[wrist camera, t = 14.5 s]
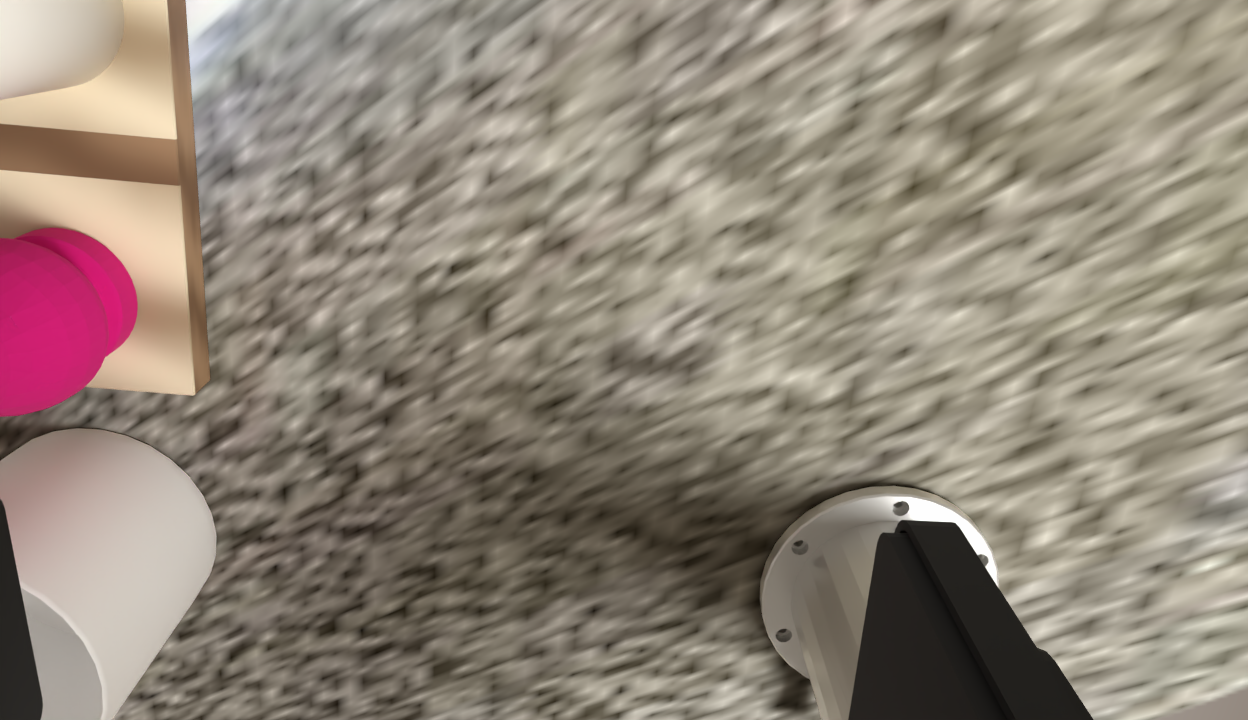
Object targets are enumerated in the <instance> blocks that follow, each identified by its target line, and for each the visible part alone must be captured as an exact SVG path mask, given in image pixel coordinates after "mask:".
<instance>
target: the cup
mask: <svg viewBox="0 0 1248 720" xmlns="http://www.w3.org/2000/svg"><path fill="white" fill-rule="evenodd" d="M0 499H1V500H2V502H3V505H4V508H5V511H6V516H7V521H8V526H9V532H10V537H11V542H12V547H13V552H14V557H15V562H16V567H17V572H18V577H19V582H20V587H21V592H22V597H23V602H24V607H25V612H26V618H27V623H28V628H29V633H30V638H31V643H32V648H33V653H34V658H35V663H36V668H37V673H38V678H39V683H40V688H41V693H42V699H43V710H42V716H41V720H112V719H113V718H114V716H115V715H116V713H117V712H118V711H119V709H120V708H121V706H122V705H123V703H124V702H125V700H126V699H127V697H128V696H129V695H130V693H131V692H132V690H133V689H134V687H135V686H136V684H137V683H138V681H139V680H140V679H141V677H142V676H143V674H144V673H145V671H146V670H147V668H148V667H149V665H150V664H151V663H152V661H153V660H154V658H155V657H156V655H157V654H158V652H159V651H160V649H161V648H162V646H163V645H164V644H165V642H166V641H167V639H168V638H169V636H170V635H171V633H172V632H173V630H174V629H175V628H176V626H177V625H178V623H179V622H180V620H181V619H182V617H183V616H184V614H185V613H186V612H187V610H188V609H189V607H190V606H191V604H192V603H193V601H194V600H195V598H196V597H197V595H198V594H199V592H200V590H201V589H202V587H203V585H204V584H205V582H206V580H207V579H208V577H209V575H210V574H211V571H212V567H213V564H214V560H215V557H216V539H217V535H216V530H215V526H214V521H213V517H212V514H211V511H210V509H209V507H208V505H207V503H206V501H205V499H204V496H203V495H202V493H201V492H200V490H199V489H198V488H197V486H196V485H195V484H194V482H193V481H192V480H191V478H190V477H189V476H188V475H187V474H186V473H185V472H184V471H183V470H182V469H181V468H180V467H179V466H178V465H176V464H175V463H174V462H173V461H172V460H171V459H170V458H168V457H166V456H165V455H163V454H162V453H160V452H159V451H157V450H156V449H154V448H153V447H151V446H149V445H147V444H145V443H142V442H140V441H138V440H135V439H133V438H131V437H128V436H126V435H122V434H118V433H114V432H109V431H105V430H99V429H81V428H75V429H68V430H60V431H53V432H50V433H48V434H45V435H42V436H39V437H37V438H34V439H32V440H30V441H29V442H27V443H26V444H24V445H23V446H21V447H20V448H18V449H16V450H15V451H14V452H12V453H11V454H9V455H8V456H6V457H5V458H3V459H2V460H1V461H0Z"/></svg>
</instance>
